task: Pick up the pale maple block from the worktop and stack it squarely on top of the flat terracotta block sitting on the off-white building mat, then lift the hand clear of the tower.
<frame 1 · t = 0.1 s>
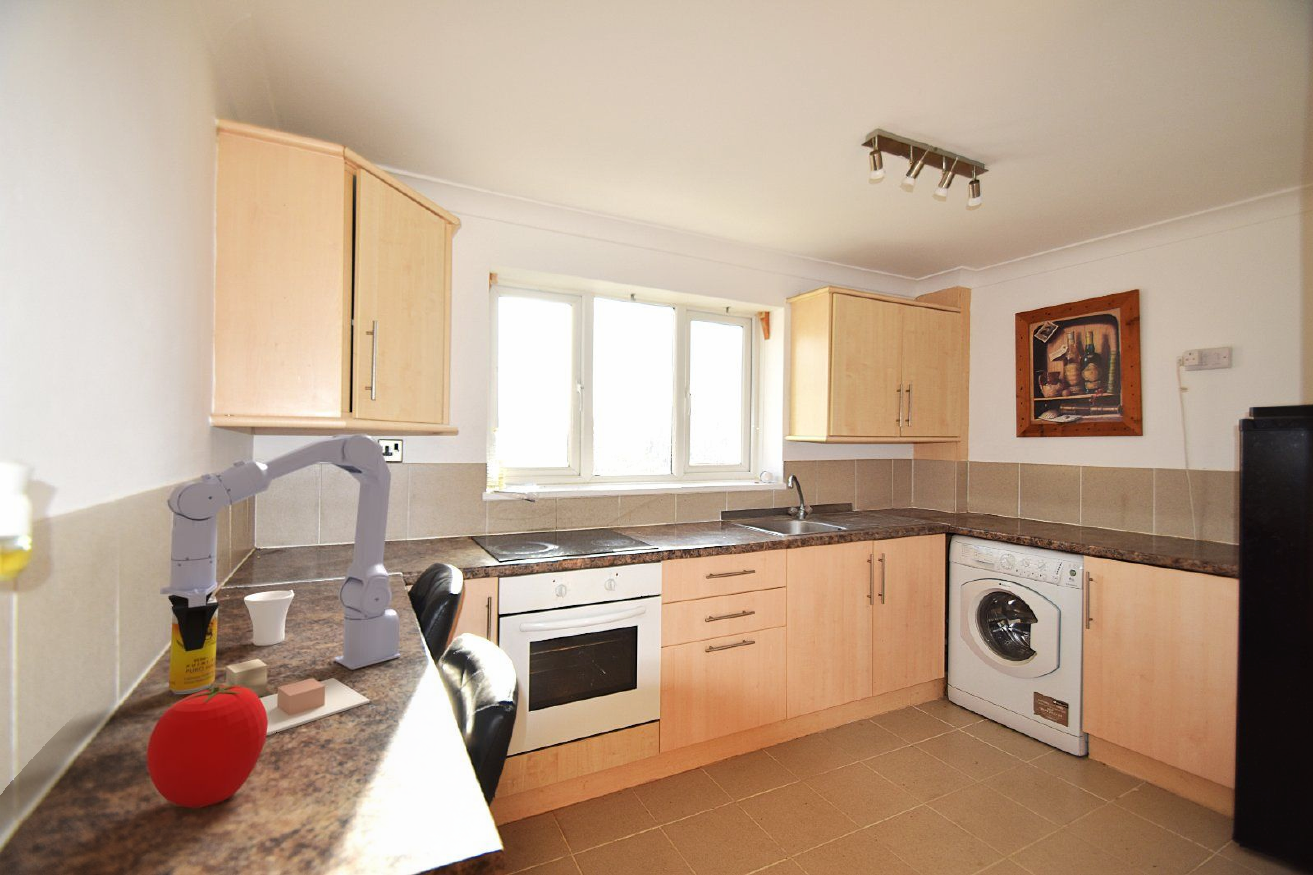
hand: (191, 643, 92), 10 cm above the worktop, tool pointing down, fingers open, 7 cm apart
terracotta block: (300, 705, 92), resting on build mat
beer can: (191, 689, 99), on the worktop
cup: (269, 642, 123), on the worktop
tomato: (209, 800, 68), on the worktop
build mat: (298, 706, 92), on the worktop
maple block: (245, 696, 96), on the worktop
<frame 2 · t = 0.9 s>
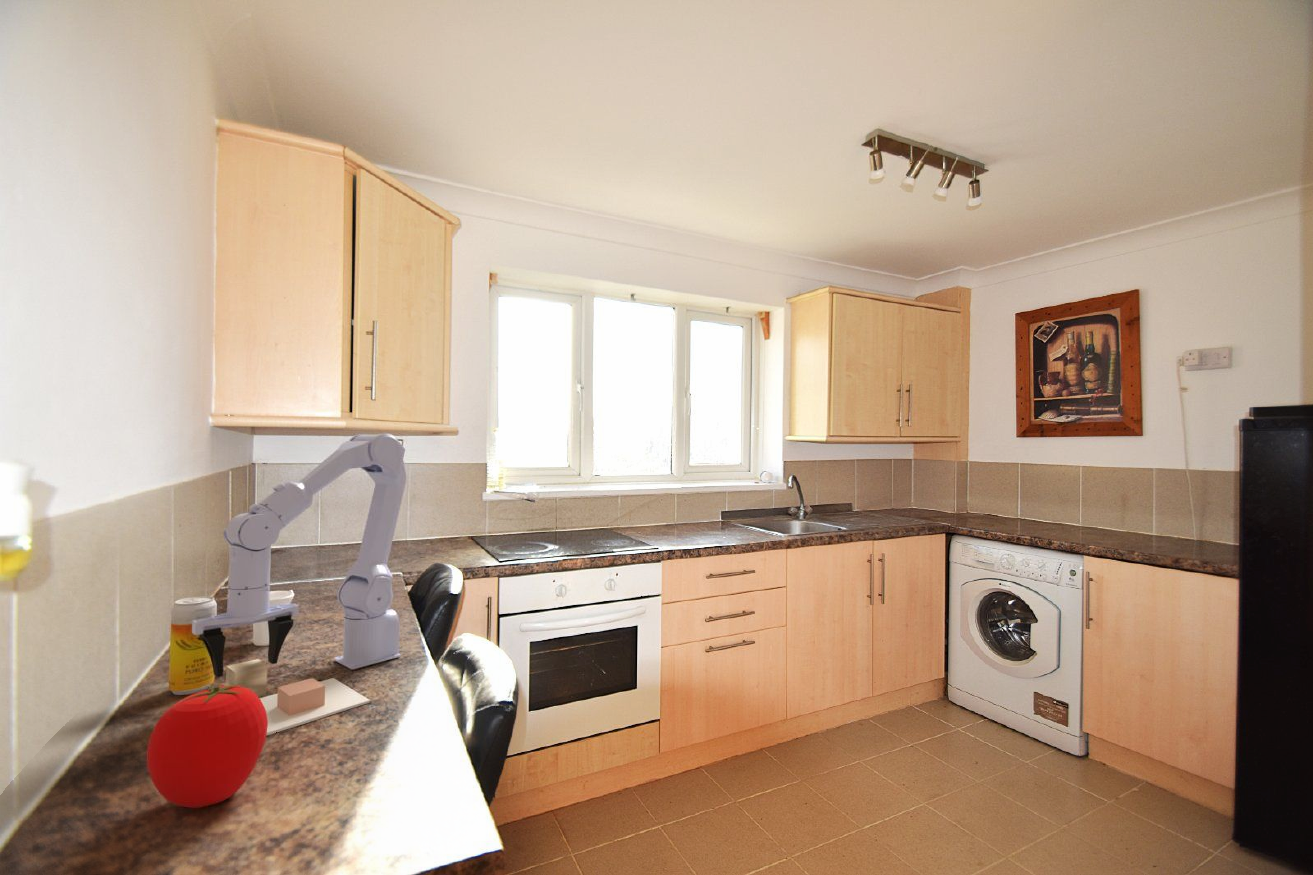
hand: (246, 668, 96), 4 cm above the worktop, tool pointing down, fingers open, 7 cm apart
nothing on the worktop moved.
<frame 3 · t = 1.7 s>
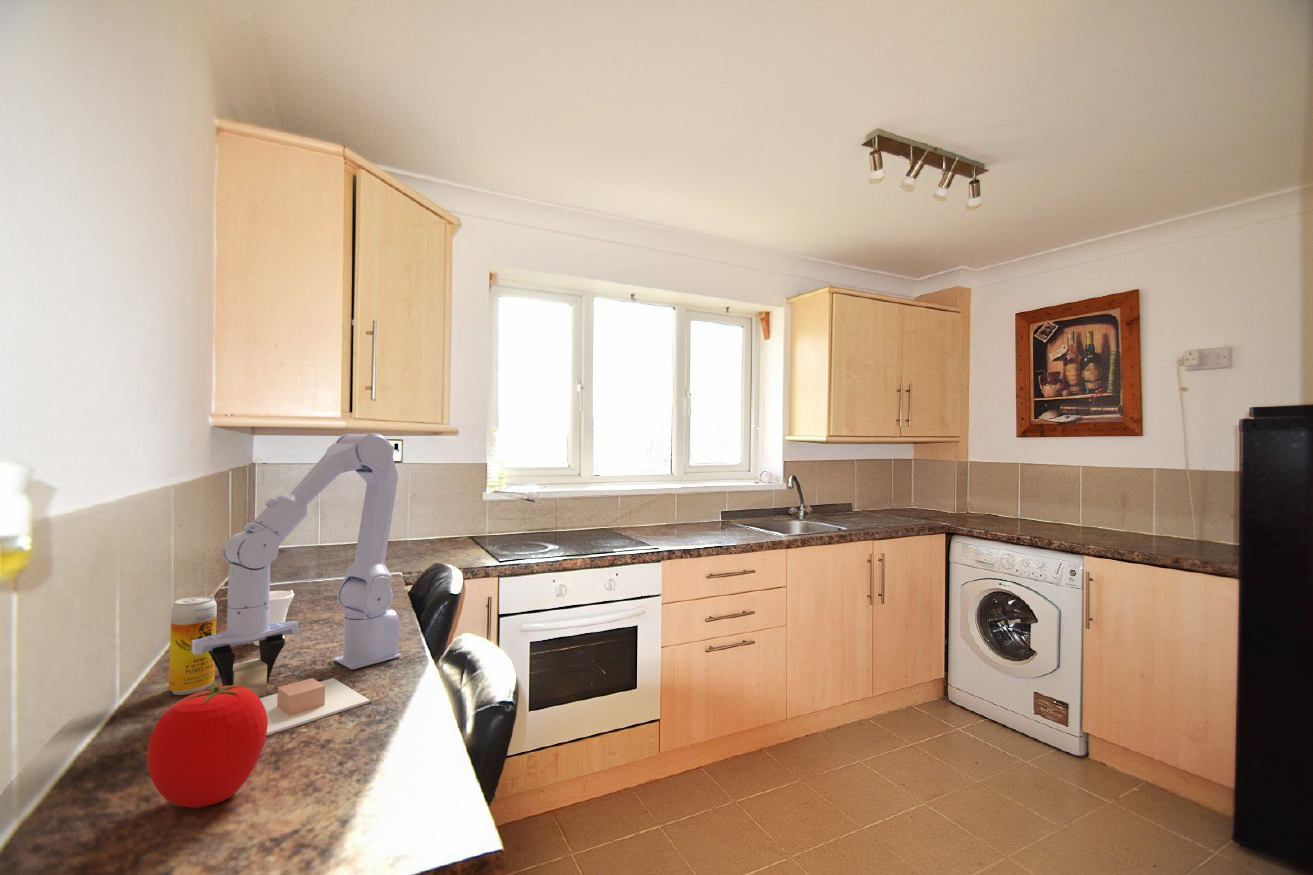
hand: (246, 686, 96), 1 cm above the worktop, tool pointing down, fingers closed on maple block, 4 cm apart
maple block: (245, 695, 96), on the worktop, touching gripper
everything else where it was.
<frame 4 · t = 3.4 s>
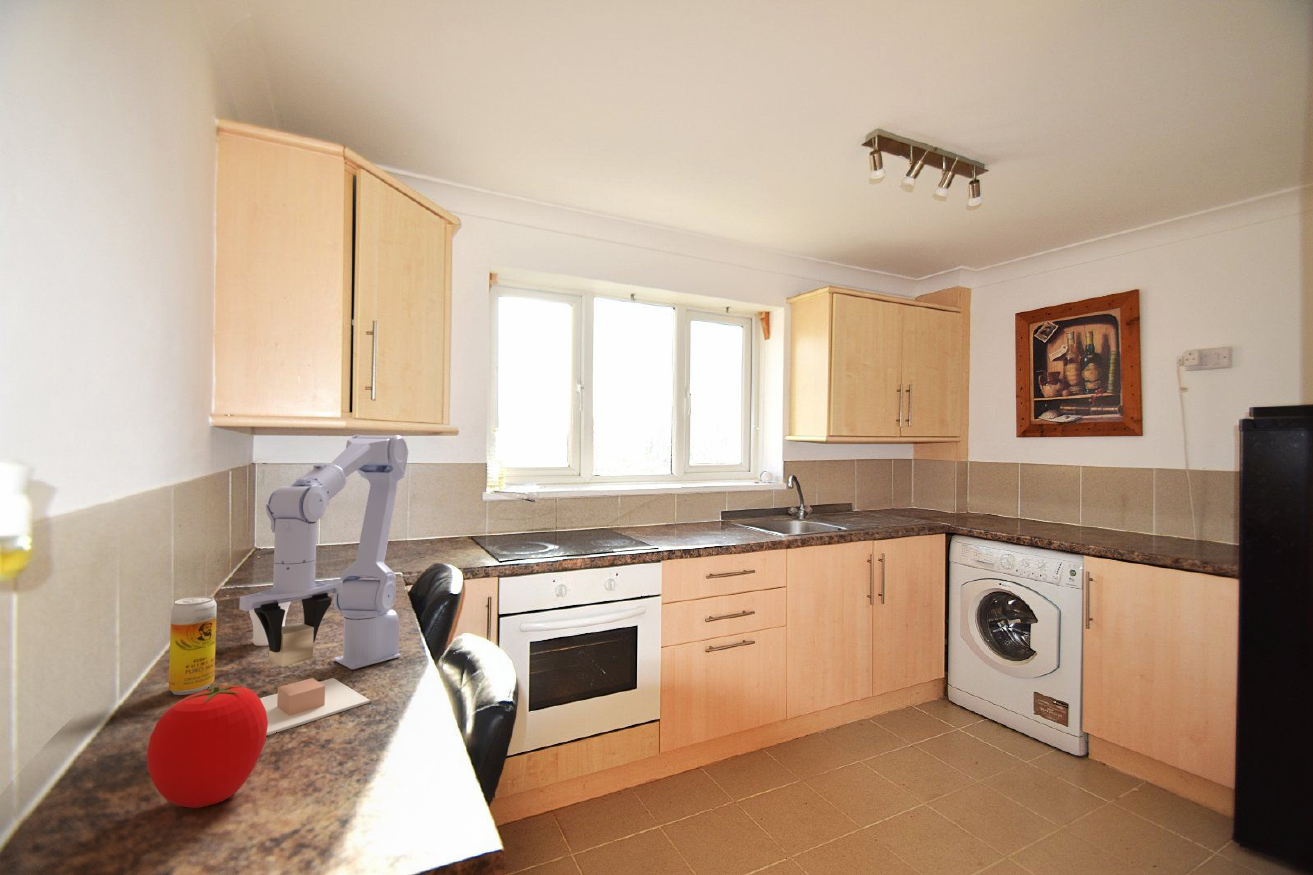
hand: (292, 646, 93), 9 cm above the worktop, tool pointing down, fingers closed on maple block, 4 cm apart
maple block: (291, 659, 93), point 7 cm above the worktop, touching gripper
everything else where it was.
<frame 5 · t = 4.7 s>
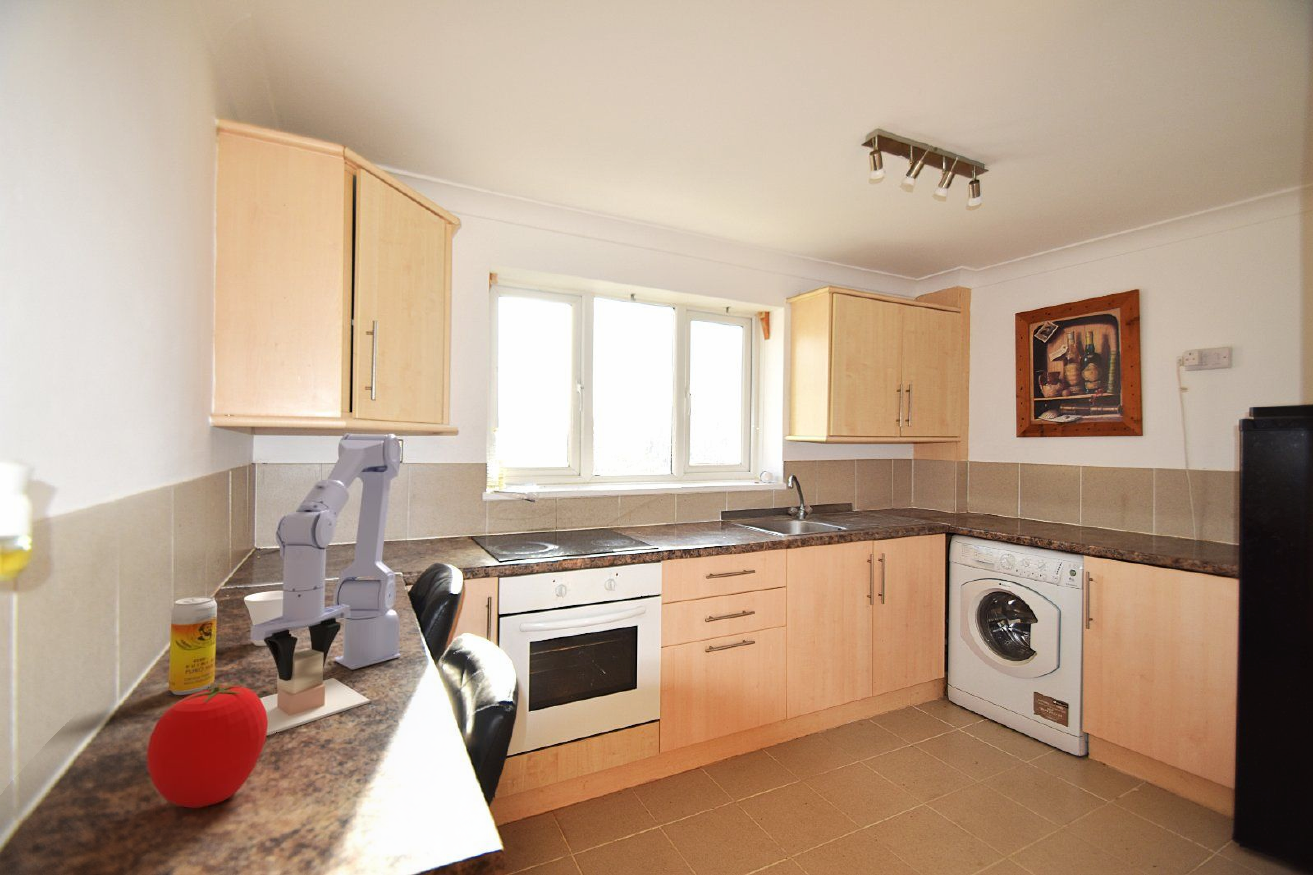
hand: (301, 673, 92), 5 cm above the worktop, tool pointing down, fingers closed on maple block, 4 cm apart
terracotta block: (300, 705, 92), resting on build mat, touching maple block
maple block: (300, 686, 92), point 3 cm above the worktop, touching gripper, terracotta block
everything else where it was.
when the fingers open (5 cm above the worktop, at t = 5.2 s): maple block stays where it is, resting on terracotta block.
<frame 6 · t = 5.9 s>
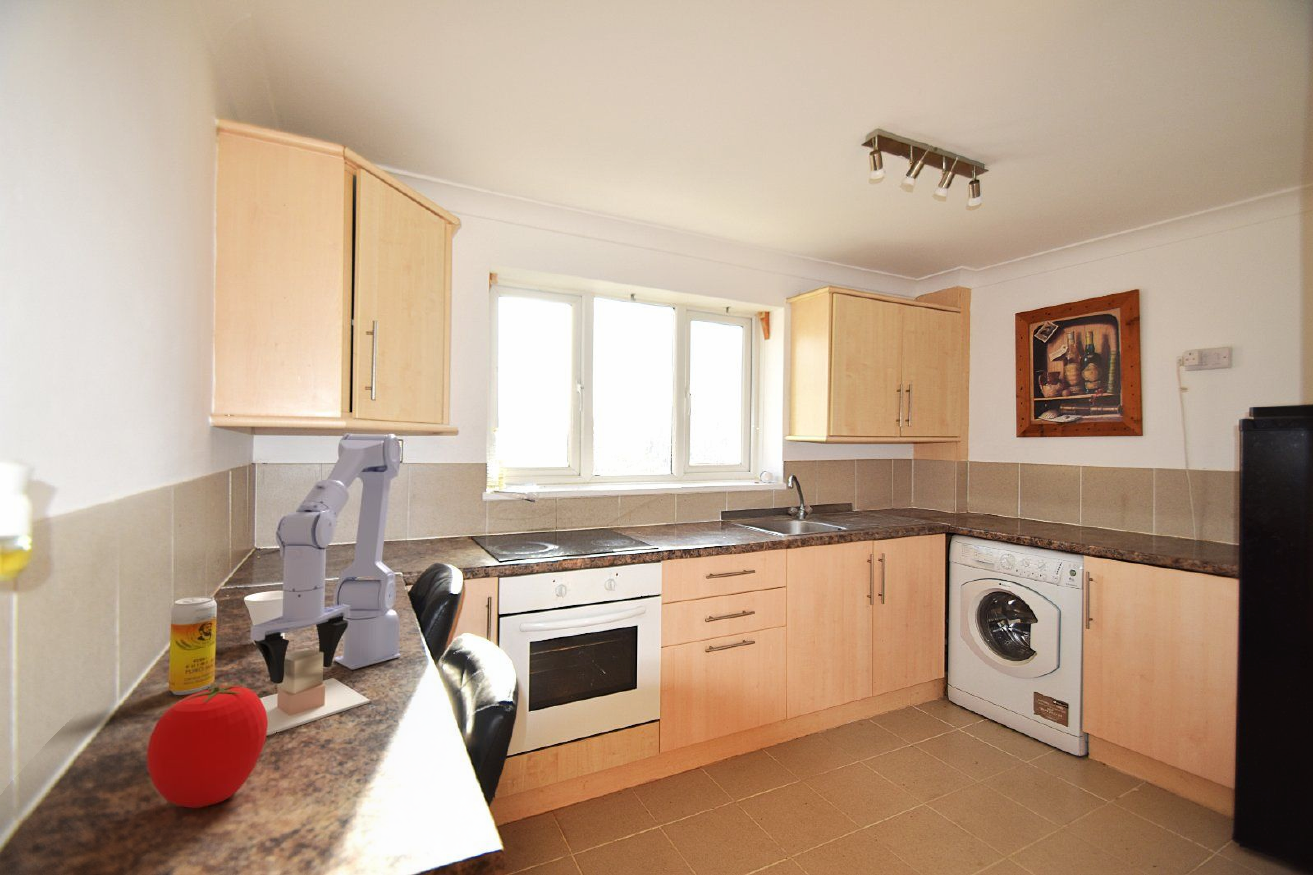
hand: (301, 673, 92), 5 cm above the worktop, tool pointing down, fingers open, 7 cm apart
maple block: (300, 686, 92), point 3 cm above the worktop, touching terracotta block
everything else where it was.
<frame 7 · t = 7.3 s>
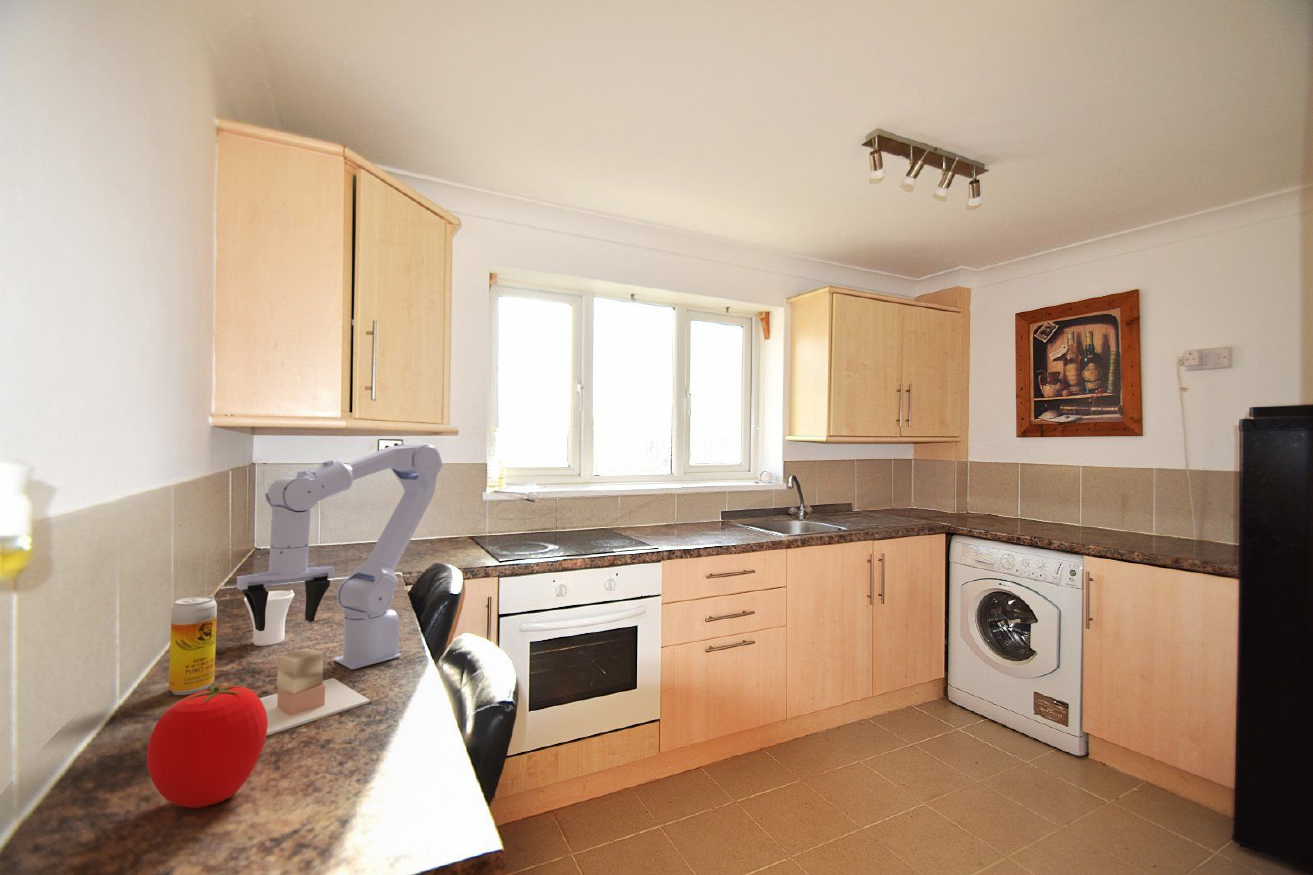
hand: (285, 625, 101), 10 cm above the worktop, tool pointing down, fingers open, 7 cm apart
nothing on the worktop moved.
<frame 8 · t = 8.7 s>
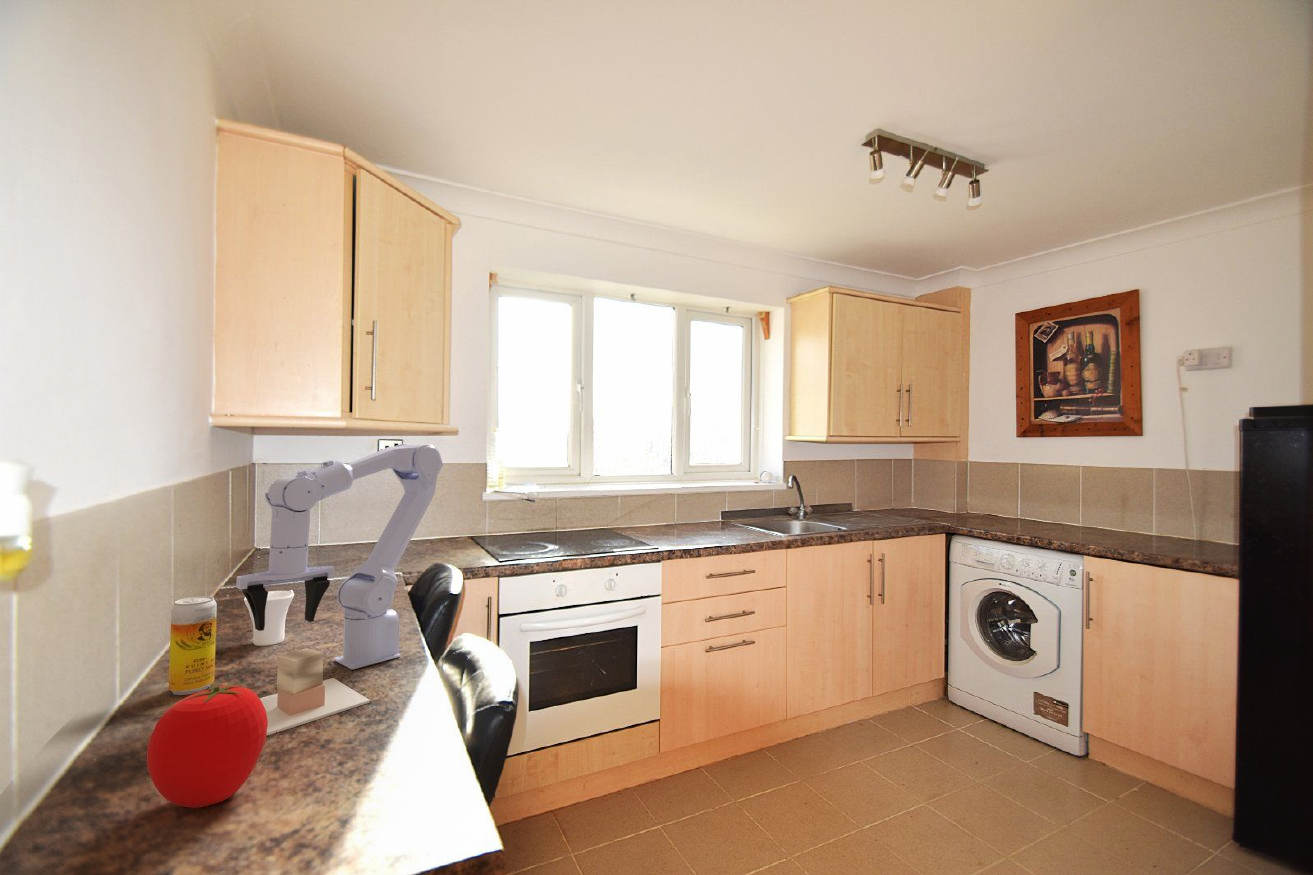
hand: (285, 625, 101), 10 cm above the worktop, tool pointing down, fingers open, 7 cm apart
nothing on the worktop moved.
at the end: maple block 0.4 cm off-centre on the terracotta block, point 3.0 cm above the terracotta block's base; maple block tilted 0°; the gripper is holding nothing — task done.
